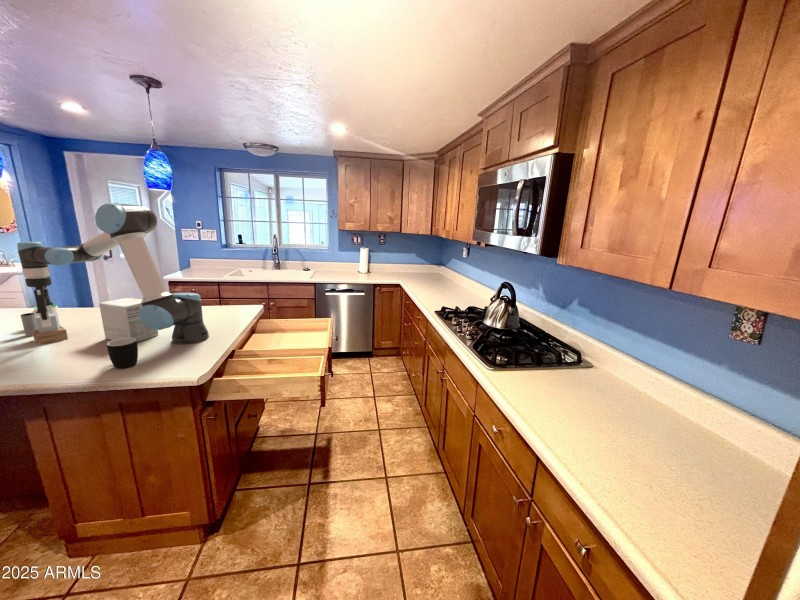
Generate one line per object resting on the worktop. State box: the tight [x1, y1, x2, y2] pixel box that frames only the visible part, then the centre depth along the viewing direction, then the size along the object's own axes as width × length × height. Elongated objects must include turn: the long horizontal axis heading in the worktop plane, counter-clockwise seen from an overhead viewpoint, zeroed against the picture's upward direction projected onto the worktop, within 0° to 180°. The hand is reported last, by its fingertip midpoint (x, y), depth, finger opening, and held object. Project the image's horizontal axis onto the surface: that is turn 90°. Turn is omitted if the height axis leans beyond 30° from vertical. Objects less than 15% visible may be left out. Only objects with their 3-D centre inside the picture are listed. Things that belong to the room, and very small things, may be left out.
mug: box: [106, 338, 139, 370], centre depth 125 cm, size 12×9×10 cm
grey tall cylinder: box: [20, 312, 38, 337], centre depth 150 cm, size 4×4×10 cm
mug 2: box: [28, 304, 62, 326], centre depth 160 cm, size 12×8×10 cm
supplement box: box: [98, 297, 159, 343], centre depth 152 cm, size 17×13×18 cm
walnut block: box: [32, 325, 69, 346], centre depth 146 cm, size 9×9×5 cm
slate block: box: [36, 313, 61, 333], centre depth 145 cm, size 6×6×7 cm
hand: (48, 322), depth 144 cm, fingers open, 13 cm apart
